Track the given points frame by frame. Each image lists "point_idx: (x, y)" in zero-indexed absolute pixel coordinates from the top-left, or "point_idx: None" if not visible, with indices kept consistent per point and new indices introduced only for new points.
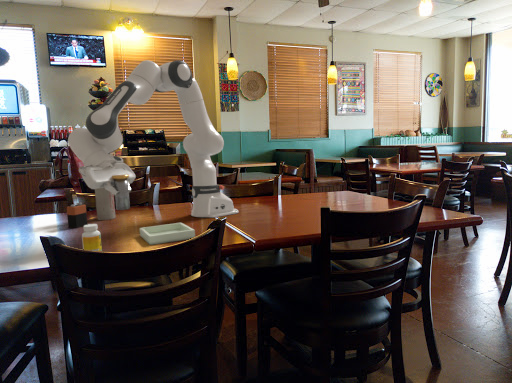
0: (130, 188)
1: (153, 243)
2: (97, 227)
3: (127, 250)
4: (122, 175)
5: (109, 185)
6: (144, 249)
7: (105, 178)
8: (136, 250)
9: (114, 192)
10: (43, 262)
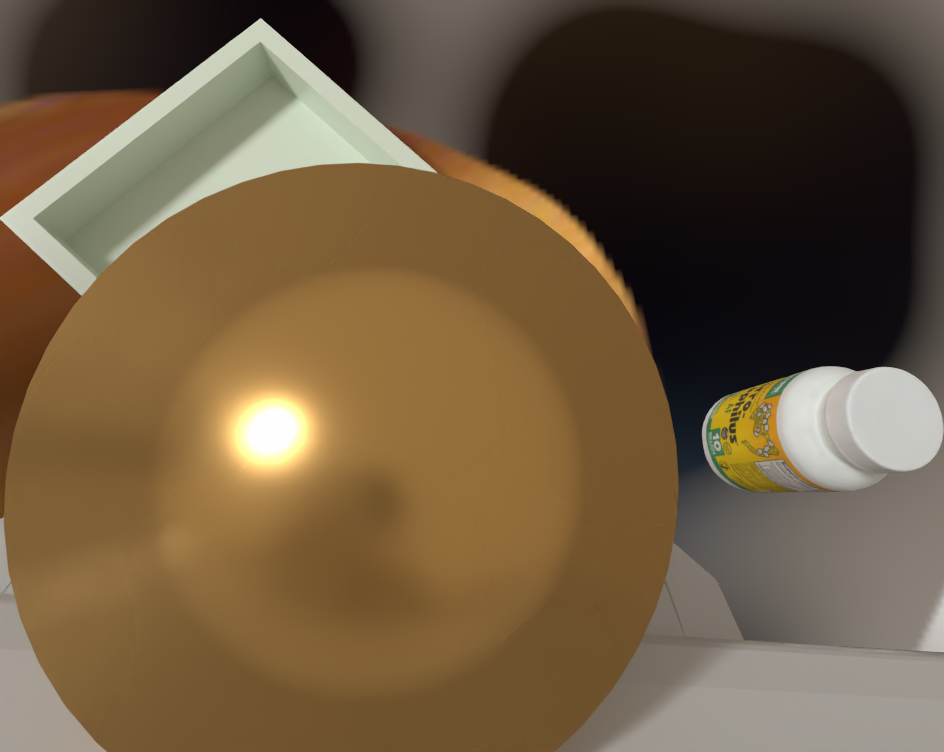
0: None
1: None
2: (848, 375)
3: None
4: (456, 295)
5: (687, 565)
6: (566, 227)
7: (837, 743)
8: (595, 259)
9: None
10: (934, 626)
